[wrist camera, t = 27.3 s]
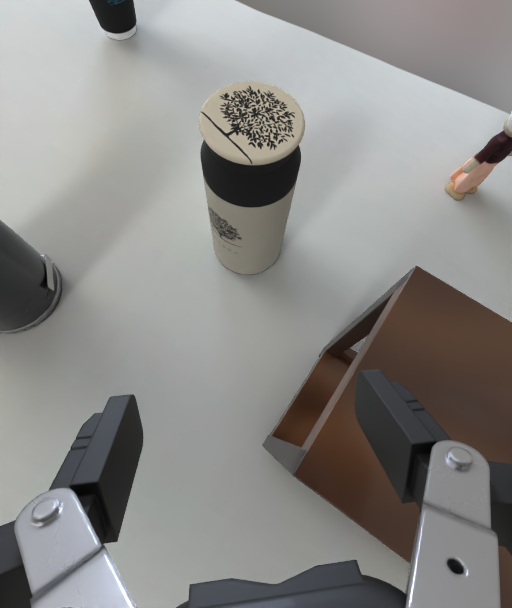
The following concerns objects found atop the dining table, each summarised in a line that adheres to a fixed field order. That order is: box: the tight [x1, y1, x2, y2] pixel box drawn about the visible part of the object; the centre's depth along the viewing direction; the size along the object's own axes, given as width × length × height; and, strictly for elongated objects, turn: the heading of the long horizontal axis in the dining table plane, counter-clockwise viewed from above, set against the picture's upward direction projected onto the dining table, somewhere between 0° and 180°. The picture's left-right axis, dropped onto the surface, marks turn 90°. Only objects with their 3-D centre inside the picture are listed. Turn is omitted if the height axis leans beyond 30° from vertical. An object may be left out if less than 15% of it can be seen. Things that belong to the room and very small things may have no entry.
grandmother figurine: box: [445, 113, 512, 200], centre depth 39 cm, size 8×4×13 cm, turn 128°
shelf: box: [262, 266, 512, 608], centre depth 24 cm, size 12×20×20 cm, turn 55°
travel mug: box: [199, 82, 305, 274], centre depth 32 cm, size 8×8×18 cm
